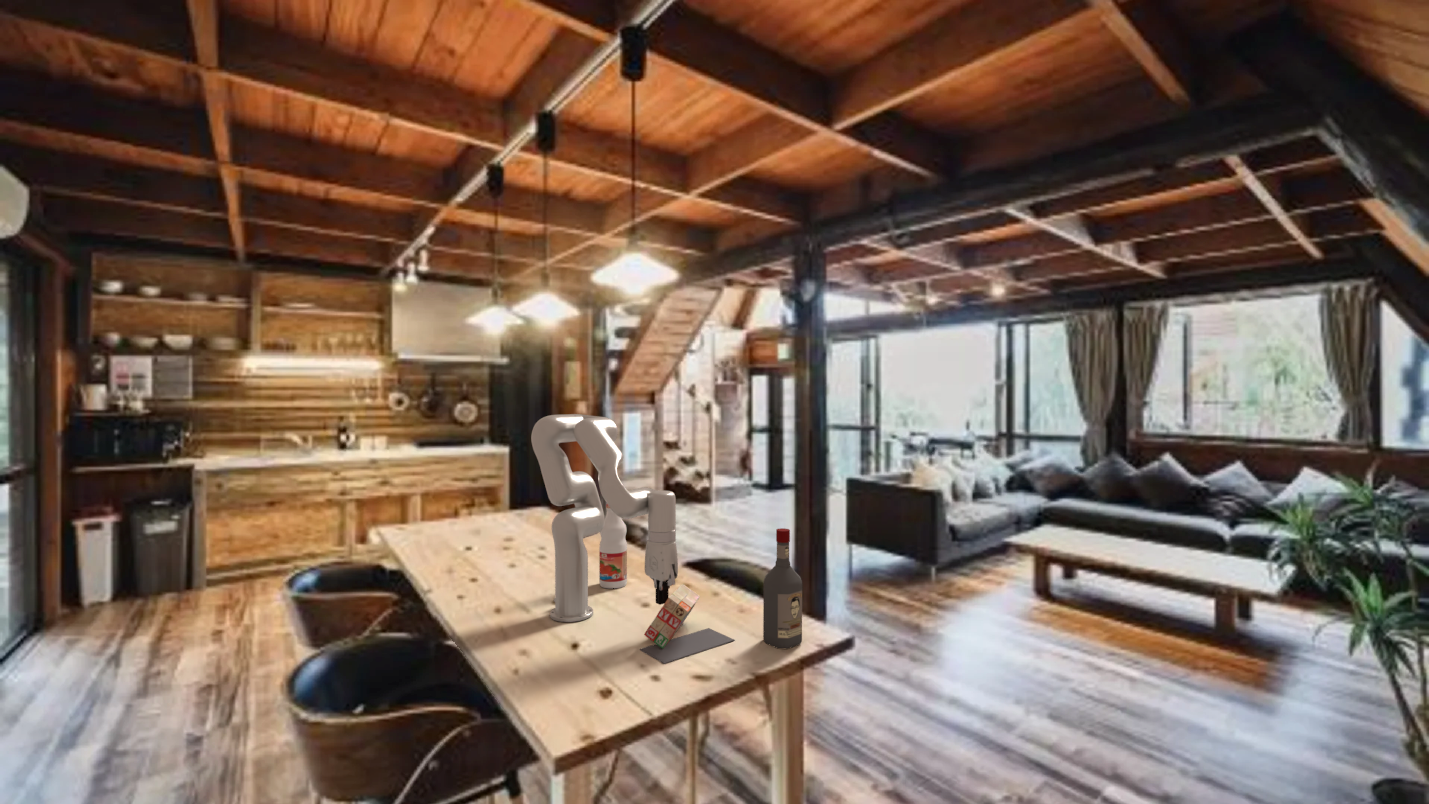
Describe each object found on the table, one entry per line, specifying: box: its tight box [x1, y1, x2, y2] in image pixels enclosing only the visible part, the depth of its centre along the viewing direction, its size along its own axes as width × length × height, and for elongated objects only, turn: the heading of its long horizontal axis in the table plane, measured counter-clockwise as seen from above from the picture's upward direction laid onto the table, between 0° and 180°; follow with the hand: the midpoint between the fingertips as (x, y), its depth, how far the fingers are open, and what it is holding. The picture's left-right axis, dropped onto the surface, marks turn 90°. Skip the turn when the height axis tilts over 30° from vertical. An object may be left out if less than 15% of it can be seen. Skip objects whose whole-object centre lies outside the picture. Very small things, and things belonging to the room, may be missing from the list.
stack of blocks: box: [643, 583, 701, 649], centre depth 174 cm, size 21×6×12 cm
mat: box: [639, 627, 736, 665], centre depth 168 cm, size 11×23×1 cm, turn 130°
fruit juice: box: [598, 503, 628, 589], centre depth 220 cm, size 9×9×28 cm
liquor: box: [762, 527, 803, 649], centre depth 170 cm, size 9×9×30 cm
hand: (662, 602), depth 175 cm, fingers closed
